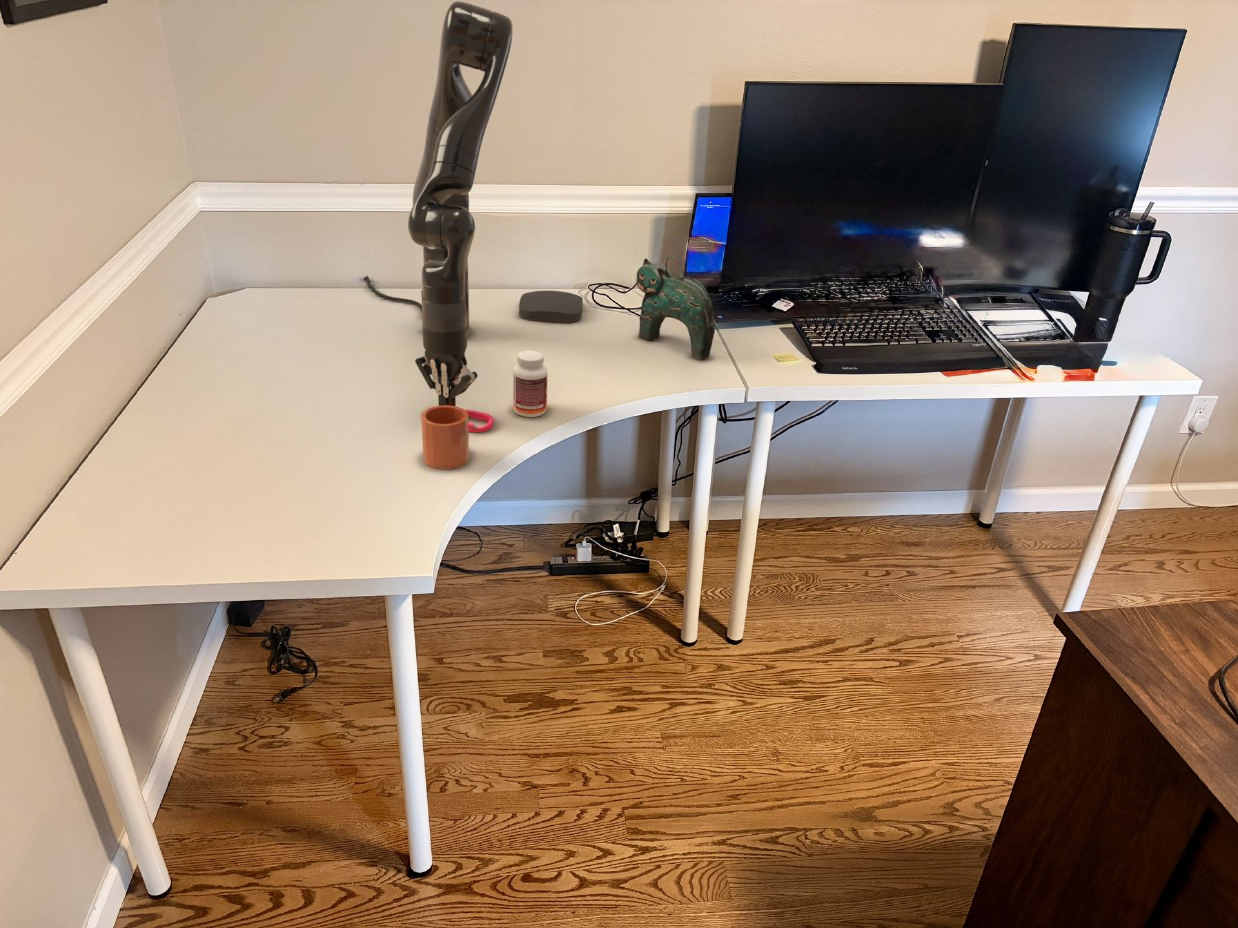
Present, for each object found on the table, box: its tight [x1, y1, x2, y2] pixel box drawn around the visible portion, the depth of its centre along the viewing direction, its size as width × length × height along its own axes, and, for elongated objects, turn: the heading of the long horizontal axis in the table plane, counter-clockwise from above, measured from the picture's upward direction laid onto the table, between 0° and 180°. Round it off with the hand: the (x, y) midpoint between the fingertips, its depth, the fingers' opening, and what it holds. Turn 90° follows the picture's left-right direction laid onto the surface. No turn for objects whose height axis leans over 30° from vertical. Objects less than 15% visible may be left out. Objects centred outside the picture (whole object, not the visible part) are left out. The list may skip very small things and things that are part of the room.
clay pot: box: [420, 405, 470, 470], centre depth 148 cm, size 7×7×8 cm
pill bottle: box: [512, 350, 548, 418], centre depth 165 cm, size 6×6×11 cm
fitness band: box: [464, 409, 495, 433], centre depth 161 cm, size 8×6×2 cm
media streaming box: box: [518, 290, 584, 323], centre depth 213 cm, size 15×15×3 cm
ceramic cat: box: [636, 254, 716, 361], centre depth 195 cm, size 20×6×20 cm, turn 47°
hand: (447, 412), depth 163 cm, fingers closed
